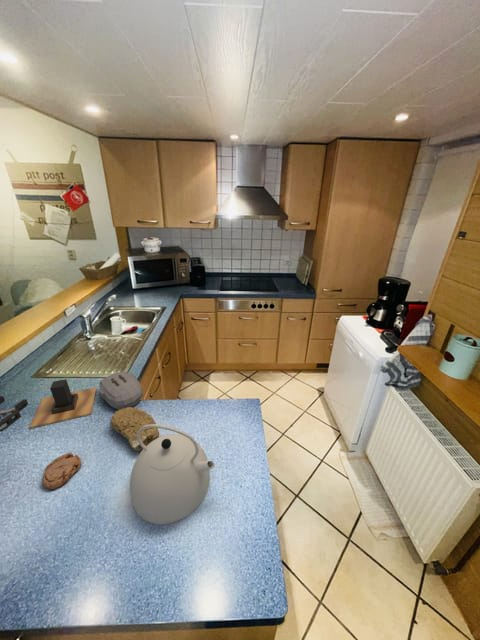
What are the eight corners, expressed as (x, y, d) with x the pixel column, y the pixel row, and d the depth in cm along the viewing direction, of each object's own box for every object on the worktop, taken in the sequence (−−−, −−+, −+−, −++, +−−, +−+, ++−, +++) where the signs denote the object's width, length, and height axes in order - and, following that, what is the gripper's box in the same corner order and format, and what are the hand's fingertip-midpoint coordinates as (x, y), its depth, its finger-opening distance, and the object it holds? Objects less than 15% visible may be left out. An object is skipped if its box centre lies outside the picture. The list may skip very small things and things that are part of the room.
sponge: (165, 441, 89) (143, 401, 101) (160, 431, 84) (138, 390, 96) (128, 466, 83) (110, 420, 95) (120, 456, 78) (102, 409, 90)
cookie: (36, 494, 71) (32, 487, 70) (51, 460, 80) (48, 454, 79) (75, 485, 74) (73, 478, 72) (85, 453, 83) (83, 447, 82)
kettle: (225, 455, 83) (224, 404, 73) (202, 536, 63) (197, 479, 53) (156, 441, 87) (147, 391, 78) (114, 512, 67) (94, 456, 58)
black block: (58, 410, 98) (49, 388, 94) (61, 403, 102) (53, 381, 98) (71, 407, 100) (63, 386, 95) (73, 400, 104) (66, 379, 99)
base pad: (29, 428, 91) (27, 423, 90) (43, 399, 105) (41, 394, 104) (91, 414, 98) (89, 409, 97) (96, 388, 112) (95, 383, 110)
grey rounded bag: (95, 394, 108) (116, 418, 96) (91, 378, 105) (112, 402, 93) (129, 378, 119) (151, 398, 107) (126, 363, 115) (149, 382, 103)
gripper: (-28, 436, 63) (30, 393, 78) (-75, 429, 65) (-10, 387, 79) (-16, 456, 66) (38, 411, 81) (-61, 448, 68) (-1, 405, 83)
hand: (14, 399), depth 80 cm, fingers open, 8 cm apart
